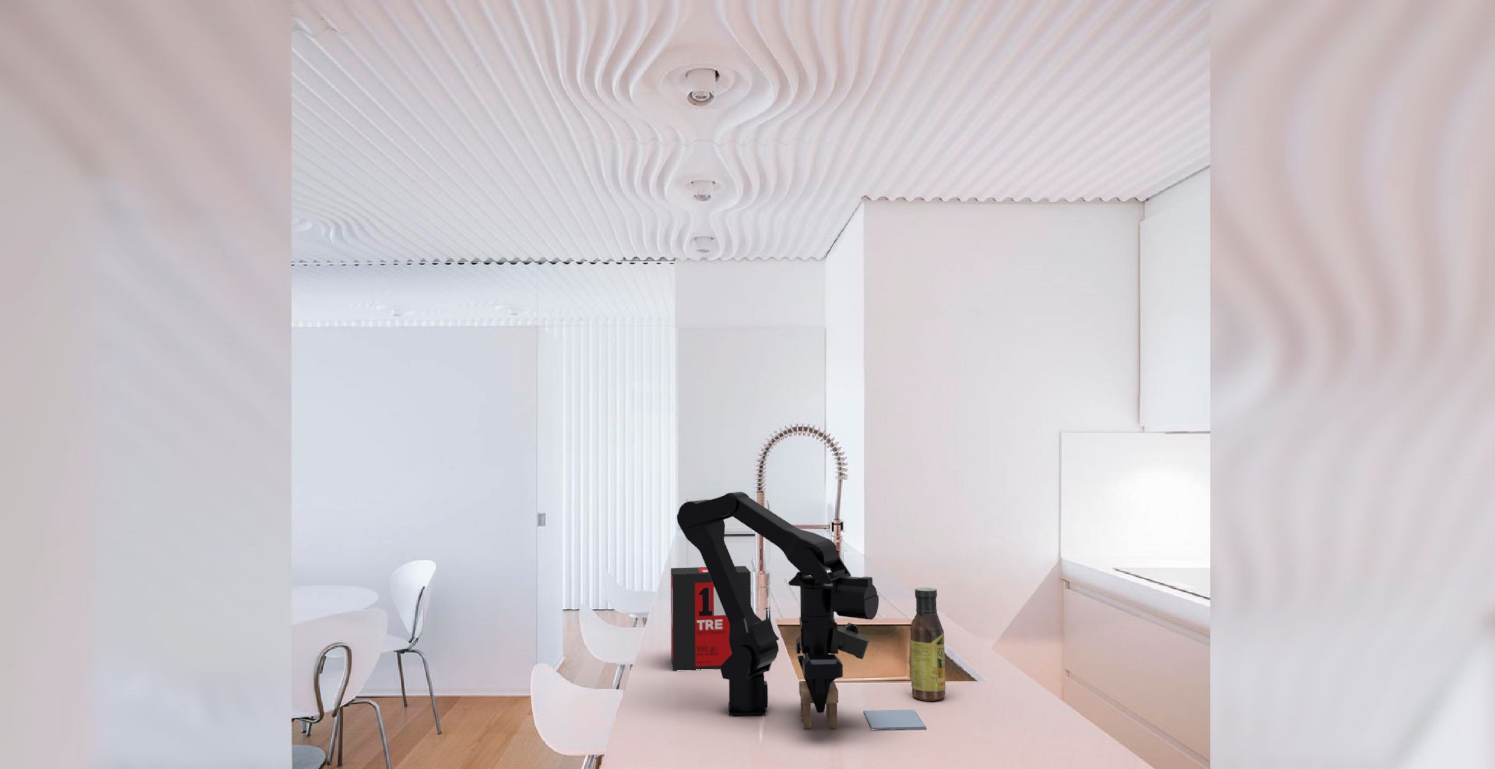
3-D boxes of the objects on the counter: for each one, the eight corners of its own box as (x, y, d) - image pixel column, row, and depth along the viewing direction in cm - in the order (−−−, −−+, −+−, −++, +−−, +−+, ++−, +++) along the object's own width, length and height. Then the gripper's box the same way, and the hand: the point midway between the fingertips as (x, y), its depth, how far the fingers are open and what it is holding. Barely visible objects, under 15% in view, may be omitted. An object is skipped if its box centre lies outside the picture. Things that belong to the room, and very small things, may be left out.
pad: (872, 730, 143) (872, 727, 143) (863, 713, 152) (863, 710, 152) (926, 729, 143) (926, 726, 143) (914, 712, 152) (914, 709, 152)
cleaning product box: (673, 671, 180) (672, 574, 181) (671, 660, 189) (670, 568, 190) (751, 667, 182) (750, 572, 184) (746, 657, 191) (745, 565, 192)
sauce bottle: (946, 703, 157) (943, 592, 158) (911, 701, 158) (908, 591, 159) (945, 693, 163) (942, 586, 164) (911, 691, 165) (909, 585, 166)
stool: (802, 728, 143) (802, 691, 144) (799, 716, 149) (799, 681, 150) (838, 727, 143) (838, 691, 144) (834, 716, 149) (833, 680, 150)
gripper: (873, 624, 138) (875, 724, 137) (856, 602, 157) (857, 690, 156) (804, 625, 138) (805, 725, 137) (794, 603, 157) (795, 691, 156)
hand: (818, 706), depth 146 cm, fingers closed on stool, 6 cm apart
